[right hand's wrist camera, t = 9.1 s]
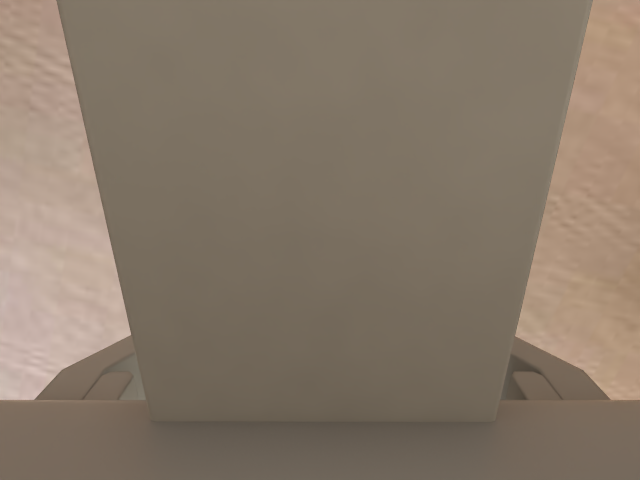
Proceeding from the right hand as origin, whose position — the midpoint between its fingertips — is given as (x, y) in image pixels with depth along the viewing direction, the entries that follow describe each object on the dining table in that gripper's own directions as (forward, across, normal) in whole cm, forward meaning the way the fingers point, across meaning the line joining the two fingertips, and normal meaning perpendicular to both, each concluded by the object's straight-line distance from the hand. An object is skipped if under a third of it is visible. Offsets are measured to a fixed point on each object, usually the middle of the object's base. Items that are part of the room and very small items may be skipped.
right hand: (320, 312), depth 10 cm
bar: (+3, 0, -8) cm, 8 cm away
